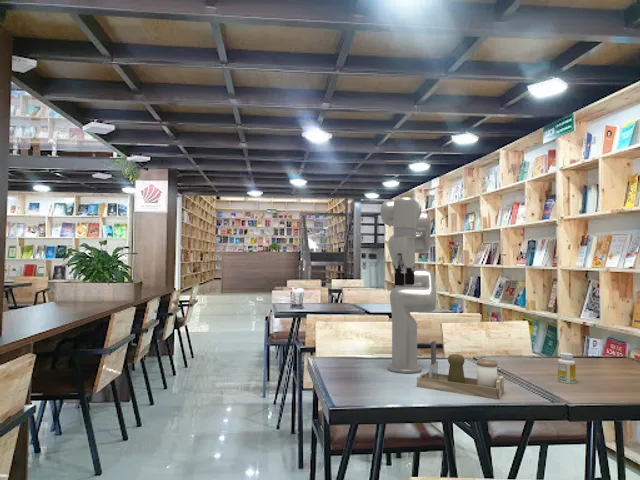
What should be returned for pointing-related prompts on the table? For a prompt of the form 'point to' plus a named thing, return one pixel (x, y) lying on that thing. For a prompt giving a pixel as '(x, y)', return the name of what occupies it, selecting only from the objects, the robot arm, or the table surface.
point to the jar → (486, 373)
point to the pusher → (433, 363)
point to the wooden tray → (461, 386)
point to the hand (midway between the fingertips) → (404, 285)
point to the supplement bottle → (566, 368)
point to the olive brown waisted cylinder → (456, 368)
